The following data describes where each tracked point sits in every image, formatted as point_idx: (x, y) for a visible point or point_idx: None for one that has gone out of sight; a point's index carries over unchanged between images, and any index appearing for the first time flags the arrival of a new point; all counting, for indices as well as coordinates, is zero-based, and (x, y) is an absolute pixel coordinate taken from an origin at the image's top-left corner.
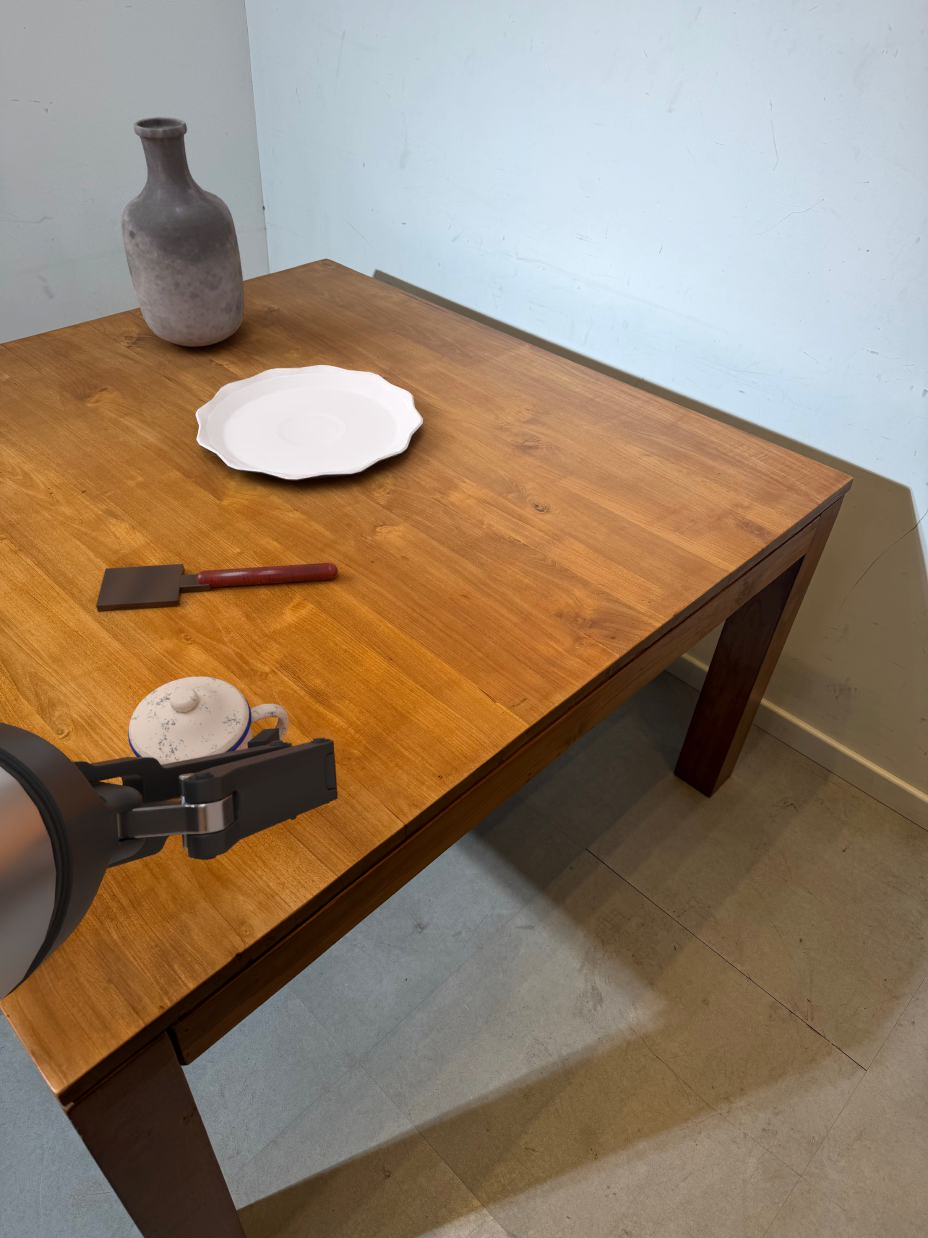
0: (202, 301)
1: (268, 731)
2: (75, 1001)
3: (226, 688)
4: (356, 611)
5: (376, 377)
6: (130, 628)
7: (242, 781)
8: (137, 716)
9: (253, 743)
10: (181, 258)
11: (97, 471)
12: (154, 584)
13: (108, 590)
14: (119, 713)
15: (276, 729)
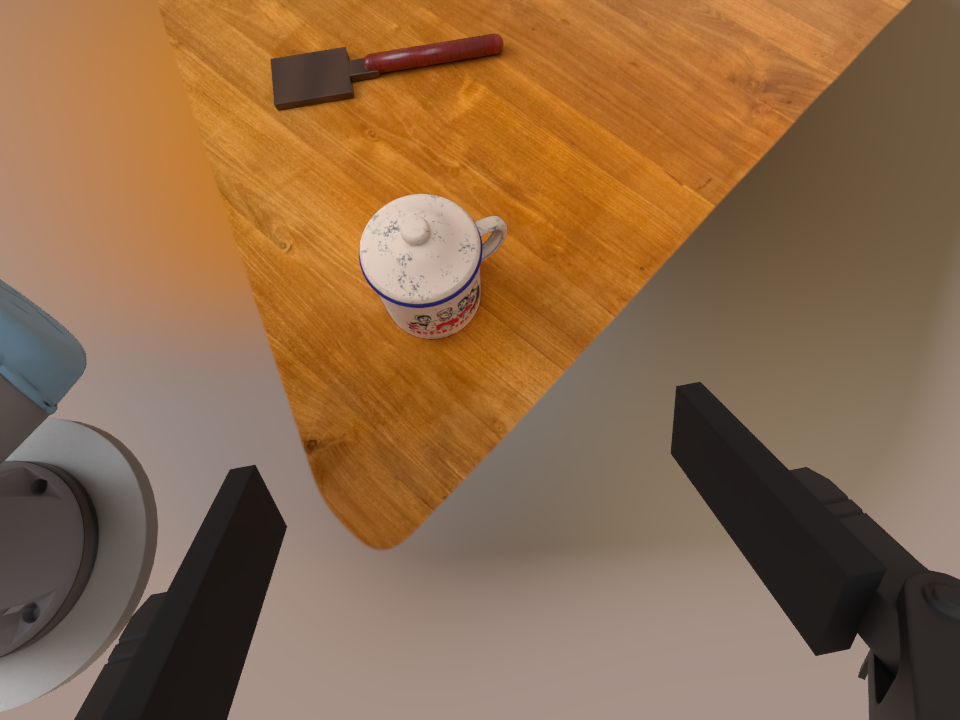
0: None
1: (720, 416)
2: (373, 496)
3: (449, 207)
4: (528, 90)
5: None
6: (314, 127)
7: None
8: (366, 248)
9: (861, 576)
10: None
11: None
12: (324, 74)
13: (281, 85)
14: (331, 222)
15: (716, 398)
